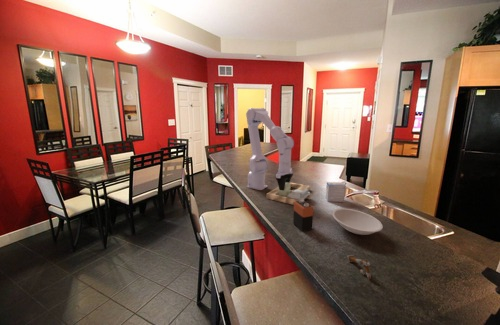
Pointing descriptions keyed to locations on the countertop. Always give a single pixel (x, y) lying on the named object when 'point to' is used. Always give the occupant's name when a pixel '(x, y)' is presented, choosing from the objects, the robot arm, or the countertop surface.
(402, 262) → the countertop surface
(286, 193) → the block
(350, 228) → the dish
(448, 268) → the countertop surface
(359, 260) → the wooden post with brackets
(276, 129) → the robot arm
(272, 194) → the puzzle board
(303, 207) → the battery
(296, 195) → the lid
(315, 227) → the countertop surface
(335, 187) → the medicine box
